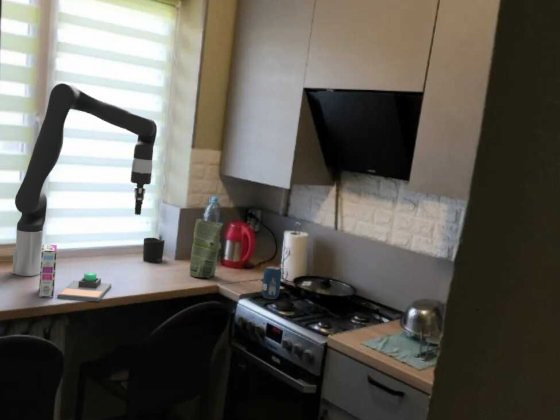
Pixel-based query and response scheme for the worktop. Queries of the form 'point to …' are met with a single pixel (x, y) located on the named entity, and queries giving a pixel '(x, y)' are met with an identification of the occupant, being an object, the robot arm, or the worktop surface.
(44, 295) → the candy bar box
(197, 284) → the worktop surface
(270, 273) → the soda can
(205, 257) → the pouch
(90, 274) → the button
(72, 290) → the activity board
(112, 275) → the worktop surface
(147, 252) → the pen holder
